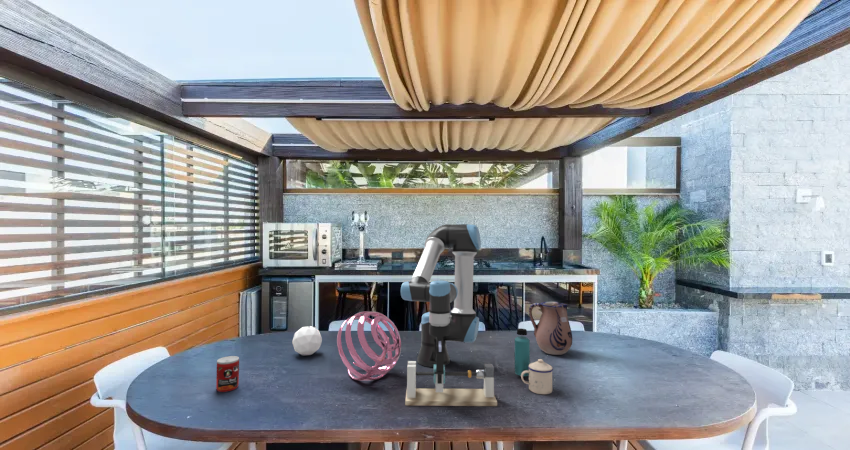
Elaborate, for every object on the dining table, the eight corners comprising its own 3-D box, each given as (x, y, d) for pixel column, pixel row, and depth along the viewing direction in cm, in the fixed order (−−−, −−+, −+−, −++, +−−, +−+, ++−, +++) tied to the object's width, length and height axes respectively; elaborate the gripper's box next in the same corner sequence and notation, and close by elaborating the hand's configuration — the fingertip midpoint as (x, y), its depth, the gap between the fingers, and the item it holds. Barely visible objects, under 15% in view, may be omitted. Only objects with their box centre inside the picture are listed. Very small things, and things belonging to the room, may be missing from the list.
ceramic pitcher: (578, 358, 184) (577, 306, 185) (534, 358, 184) (534, 306, 185) (565, 347, 201) (565, 300, 202) (525, 347, 202) (525, 300, 202)
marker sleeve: (433, 383, 135) (433, 369, 135) (433, 378, 140) (433, 364, 140) (445, 383, 135) (445, 369, 135) (444, 378, 140) (444, 364, 140)
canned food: (215, 393, 140) (216, 363, 140) (216, 386, 147) (217, 357, 147) (238, 390, 143) (239, 360, 144) (238, 382, 151) (239, 354, 151)
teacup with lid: (548, 385, 150) (548, 355, 151) (556, 395, 141) (556, 363, 141) (518, 385, 150) (518, 355, 151) (524, 394, 141) (524, 363, 141)
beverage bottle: (530, 380, 155) (530, 331, 156) (514, 379, 157) (514, 330, 157) (529, 374, 162) (529, 327, 162) (513, 373, 163) (513, 326, 164)
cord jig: (405, 405, 131) (405, 369, 132) (406, 392, 142) (406, 358, 143) (497, 406, 132) (497, 369, 132) (491, 392, 143) (491, 359, 143)
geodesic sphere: (315, 335, 200) (302, 316, 193) (334, 339, 192) (320, 320, 185) (296, 358, 190) (281, 339, 183) (314, 364, 182) (299, 344, 175)
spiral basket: (316, 326, 163) (355, 295, 151) (366, 330, 183) (404, 304, 171) (325, 393, 148) (369, 365, 136) (378, 390, 167) (421, 365, 155)
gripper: (451, 330, 129) (451, 399, 128) (448, 318, 147) (448, 379, 146) (429, 329, 129) (428, 399, 128) (429, 318, 147) (428, 378, 146)
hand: (439, 388), depth 137 cm, fingers closed on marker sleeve, 5 cm apart
